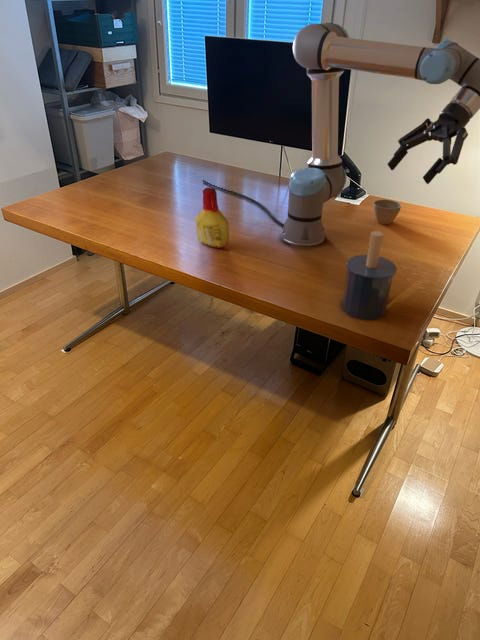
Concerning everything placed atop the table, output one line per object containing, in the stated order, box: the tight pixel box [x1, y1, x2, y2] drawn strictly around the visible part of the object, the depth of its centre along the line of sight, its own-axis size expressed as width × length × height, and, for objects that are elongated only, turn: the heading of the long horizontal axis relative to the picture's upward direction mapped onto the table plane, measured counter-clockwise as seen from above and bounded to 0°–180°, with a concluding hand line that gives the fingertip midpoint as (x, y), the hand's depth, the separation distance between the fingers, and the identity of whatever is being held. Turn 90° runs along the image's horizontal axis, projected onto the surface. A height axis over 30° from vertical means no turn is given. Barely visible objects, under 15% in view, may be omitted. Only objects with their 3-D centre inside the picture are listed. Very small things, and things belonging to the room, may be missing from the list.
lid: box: [345, 230, 398, 280], centre depth 123 cm, size 13×13×10 cm
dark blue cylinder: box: [341, 268, 394, 321], centre depth 129 cm, size 12×12×12 cm
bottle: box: [195, 187, 230, 249], centre depth 159 cm, size 12×6×20 cm, turn 60°
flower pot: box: [373, 199, 402, 225], centre depth 181 cm, size 10×10×7 cm
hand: (406, 173), depth 133 cm, fingers open, 13 cm apart
